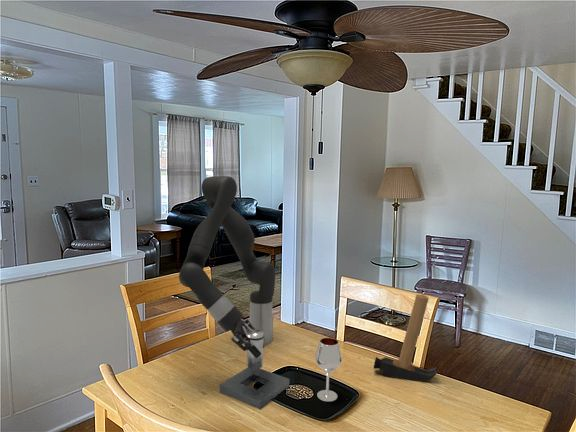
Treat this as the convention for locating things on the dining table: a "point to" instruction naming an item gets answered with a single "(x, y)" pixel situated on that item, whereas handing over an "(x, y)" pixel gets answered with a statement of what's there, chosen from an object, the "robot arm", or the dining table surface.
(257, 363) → the cylinder
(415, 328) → the hammer
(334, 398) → the wineglass
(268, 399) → the grey square frame
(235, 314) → the robot arm
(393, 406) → the dining table surface
